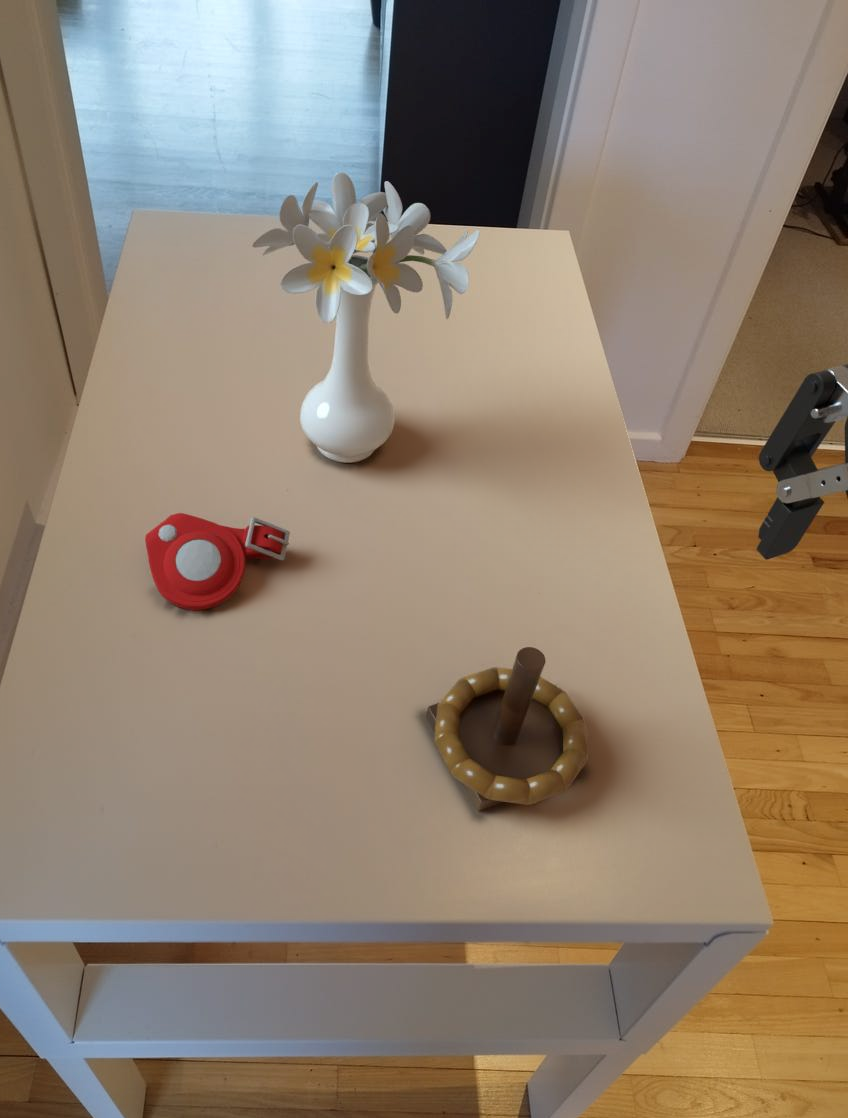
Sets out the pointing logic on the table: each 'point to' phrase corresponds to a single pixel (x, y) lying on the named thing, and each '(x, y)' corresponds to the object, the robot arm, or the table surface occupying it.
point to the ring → (499, 785)
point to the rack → (510, 727)
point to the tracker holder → (207, 557)
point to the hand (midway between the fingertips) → (826, 608)
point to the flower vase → (357, 299)
